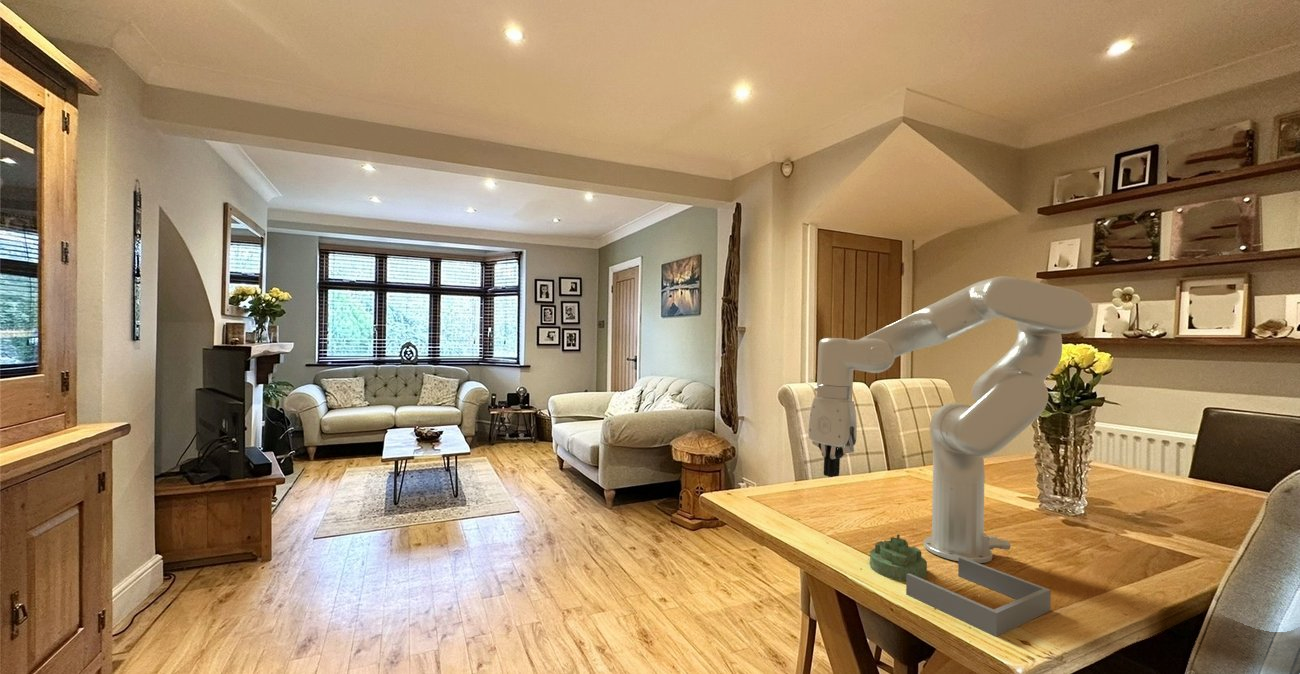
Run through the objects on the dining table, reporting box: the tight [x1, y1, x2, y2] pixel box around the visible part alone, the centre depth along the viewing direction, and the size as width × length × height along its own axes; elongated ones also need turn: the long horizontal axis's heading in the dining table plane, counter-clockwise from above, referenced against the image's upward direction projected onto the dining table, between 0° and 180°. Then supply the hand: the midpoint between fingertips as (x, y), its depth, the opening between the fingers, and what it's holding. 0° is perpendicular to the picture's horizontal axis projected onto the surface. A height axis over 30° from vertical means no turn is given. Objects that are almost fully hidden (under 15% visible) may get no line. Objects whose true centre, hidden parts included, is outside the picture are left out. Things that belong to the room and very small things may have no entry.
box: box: [905, 557, 1052, 637], centre depth 89 cm, size 15×17×4 cm
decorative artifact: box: [869, 534, 928, 582], centre depth 101 cm, size 10×7×10 cm
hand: (831, 475), depth 115 cm, fingers closed
